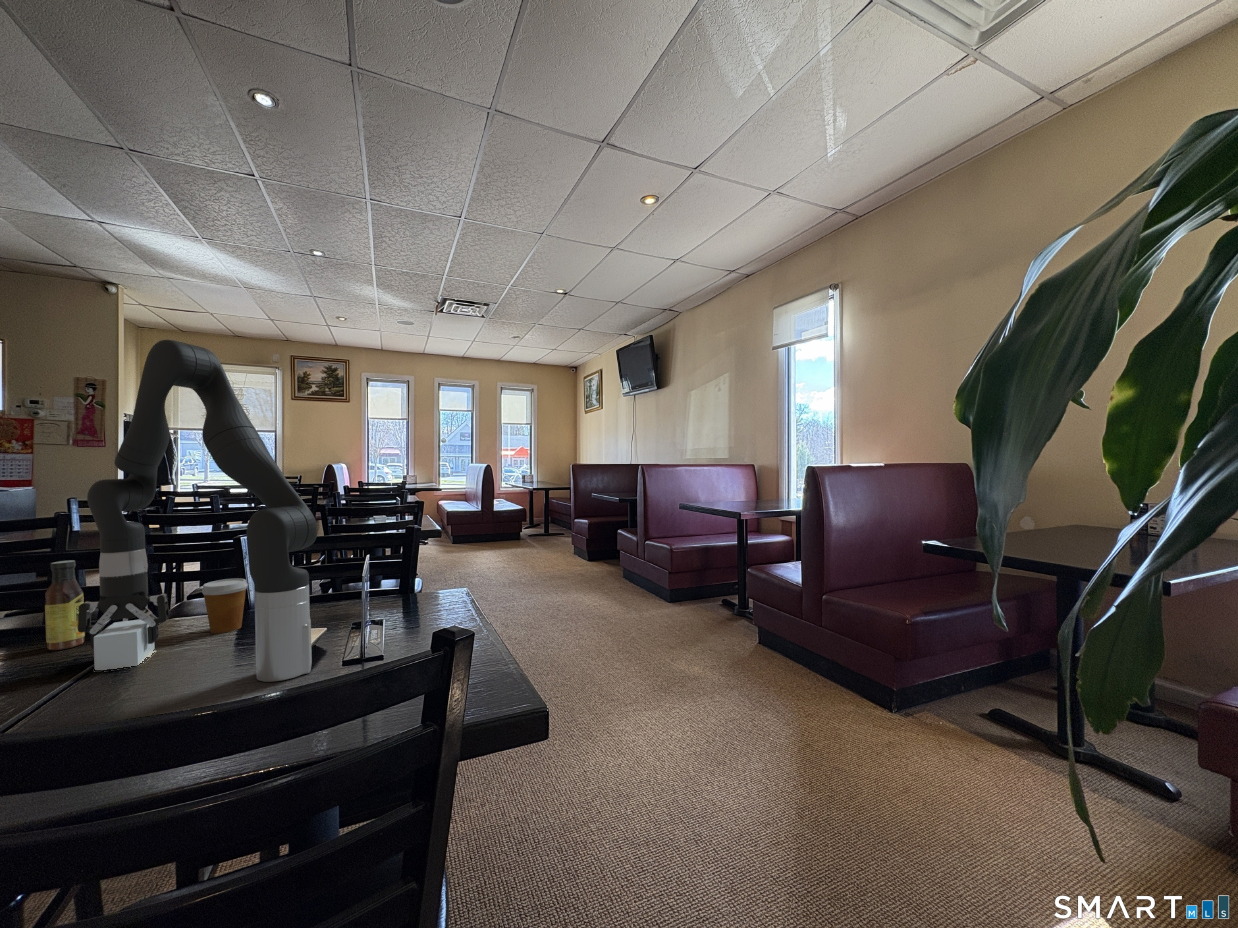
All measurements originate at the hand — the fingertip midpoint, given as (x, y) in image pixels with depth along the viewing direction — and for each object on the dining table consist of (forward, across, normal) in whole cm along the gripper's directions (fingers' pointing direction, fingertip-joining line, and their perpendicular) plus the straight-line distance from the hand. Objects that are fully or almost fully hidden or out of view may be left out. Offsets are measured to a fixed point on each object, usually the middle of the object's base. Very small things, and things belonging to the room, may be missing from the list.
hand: (126, 646), depth 113 cm
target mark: (+3, 0, 0) cm, 3 cm away
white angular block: (+3, 0, 0) cm, 3 cm away
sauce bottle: (+3, -16, +19) cm, 25 cm away
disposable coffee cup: (+3, +15, +15) cm, 21 cm away
